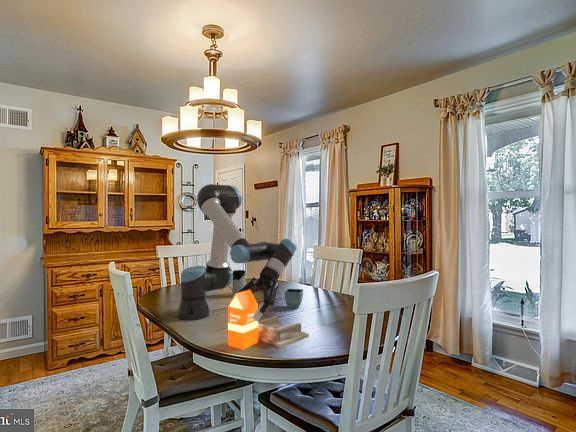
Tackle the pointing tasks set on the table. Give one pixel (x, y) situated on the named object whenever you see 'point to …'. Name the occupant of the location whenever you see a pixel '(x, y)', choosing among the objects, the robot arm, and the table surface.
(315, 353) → the table surface
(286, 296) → the flower pot
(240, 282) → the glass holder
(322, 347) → the table surface
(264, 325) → the keeper bracket
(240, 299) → the orange juice
